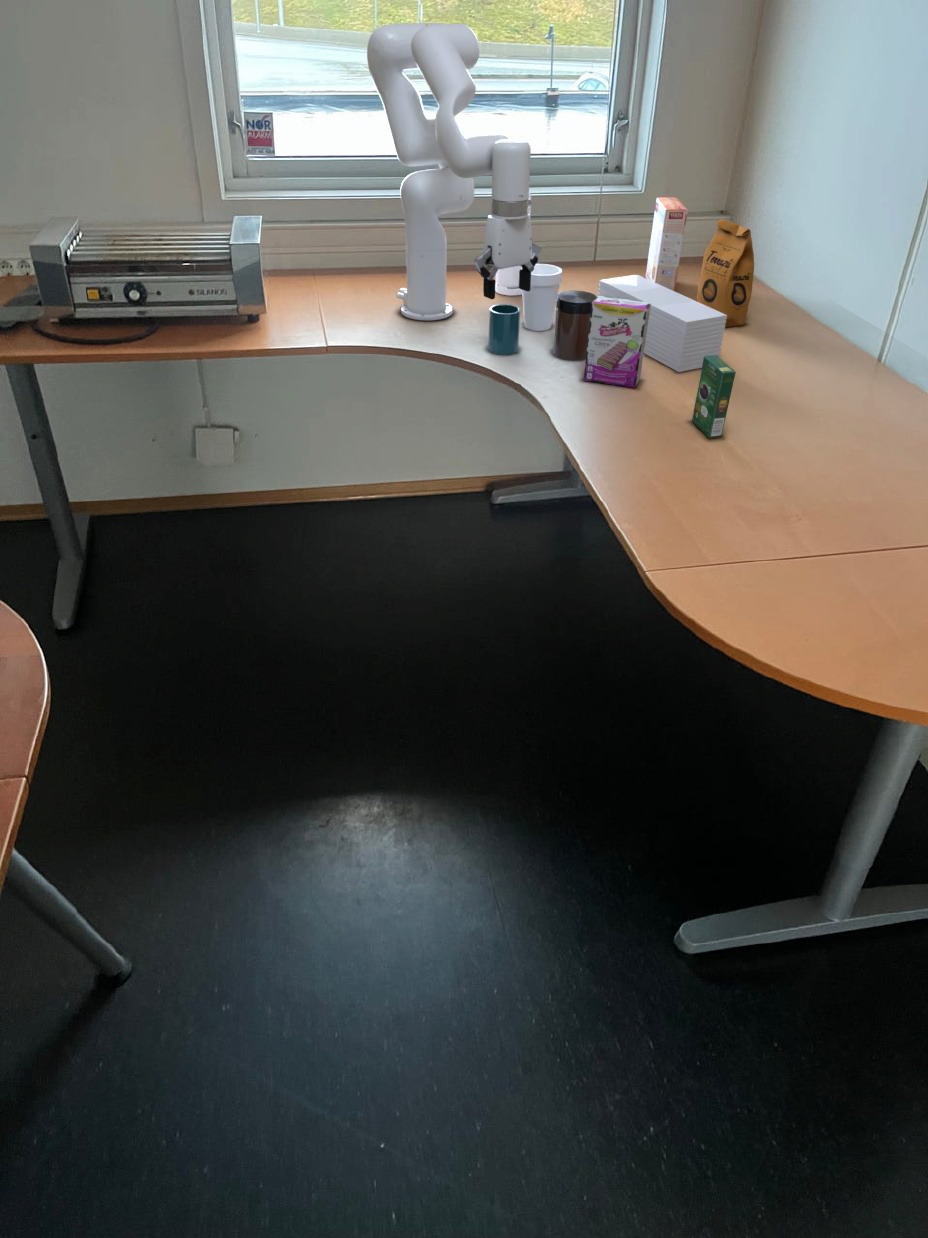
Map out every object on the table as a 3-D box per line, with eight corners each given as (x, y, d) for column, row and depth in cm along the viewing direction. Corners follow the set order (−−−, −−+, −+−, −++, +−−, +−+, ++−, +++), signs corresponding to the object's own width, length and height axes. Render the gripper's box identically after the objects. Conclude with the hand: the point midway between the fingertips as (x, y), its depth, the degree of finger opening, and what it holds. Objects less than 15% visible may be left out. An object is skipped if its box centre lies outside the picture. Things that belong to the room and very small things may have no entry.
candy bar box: (582, 381, 190) (590, 301, 180) (588, 373, 194) (596, 294, 184) (636, 389, 187) (647, 308, 177) (640, 380, 191) (651, 301, 181)
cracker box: (675, 295, 238) (688, 209, 225) (652, 294, 238) (664, 208, 225) (666, 279, 249) (678, 196, 237) (644, 278, 249) (655, 195, 237)
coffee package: (716, 330, 217) (734, 232, 204) (688, 313, 226) (704, 218, 213) (751, 326, 220) (771, 229, 206) (723, 310, 229) (740, 216, 216)
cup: (482, 350, 203) (483, 309, 198) (500, 342, 208) (501, 302, 202) (506, 357, 200) (508, 316, 195) (523, 349, 204) (526, 308, 199)
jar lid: (548, 307, 196) (549, 296, 195) (570, 298, 201) (571, 287, 200) (582, 316, 192) (583, 305, 190) (603, 306, 197) (604, 295, 196)
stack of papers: (717, 364, 199) (727, 314, 192) (678, 372, 195) (686, 321, 188) (631, 319, 222) (637, 274, 215) (594, 326, 218) (599, 279, 211)
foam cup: (554, 334, 212) (559, 276, 205) (515, 330, 214) (518, 273, 206) (559, 321, 220) (564, 265, 212) (521, 317, 221) (524, 262, 214)
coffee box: (723, 438, 169) (737, 370, 161) (709, 439, 168) (722, 371, 161) (704, 420, 175) (717, 353, 167) (690, 421, 175) (702, 354, 167)
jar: (545, 354, 202) (549, 300, 195) (566, 344, 207) (570, 291, 200) (577, 363, 198) (582, 308, 191) (598, 352, 203) (603, 299, 196)
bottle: (506, 283, 243) (511, 168, 227) (532, 289, 239) (539, 172, 223) (489, 291, 238) (493, 173, 221) (515, 297, 234) (521, 178, 217)
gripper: (530, 199, 193) (526, 283, 203) (464, 210, 185) (464, 296, 194) (553, 205, 188) (549, 291, 198) (487, 216, 180) (486, 305, 190)
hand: (507, 293), depth 196 cm, fingers open, 9 cm apart
